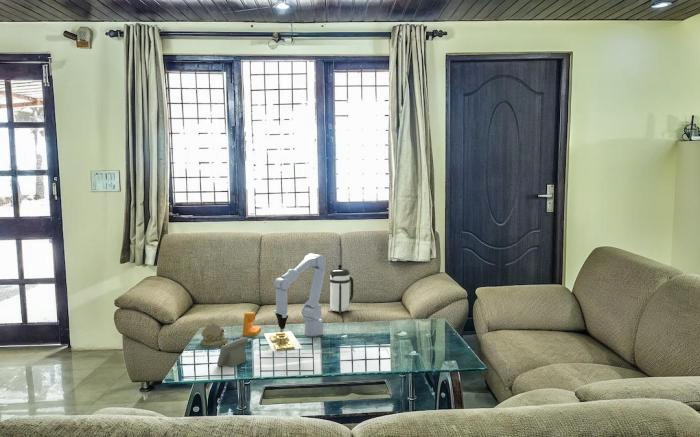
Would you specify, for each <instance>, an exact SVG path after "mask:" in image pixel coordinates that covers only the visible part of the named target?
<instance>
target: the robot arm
mask: <svg viewBox="0 0 700 437" xmlns="http://www.w3.org/2000/svg"><path fill="white" fill-rule="evenodd" d="M303 258H304V259H302V261H301V262H300V263H299V264H298V265H297V266H295V268H291V269H290V268H289V269H287V272H286V273H284V274H282V275H281V276H280V277H277V278H276V279H275V280H274V283H273V288H274V291H275V309H274V310H273V313H274V315H275V316H276V319H277V323H278V327H279V330H280V329H284V330H285V327H286V323H287V320H288V318H289V315H288V311H289V310H288V290H289V289H290V286H291V285H292V284H293V282H295V281H296V280H297V279H298V278H299V275H300V274H301V273H302V272H304V271H305V270H306V269H307V268H309V267H310V268H312V270H313V271H314V273H313V276H312V277H313V278H312V282H311V287H310V292H309V296H308V300H307V301H306V302H305V303H304V305H303V307H302V310H301V315H302V317H303V320H304V335H305V336H307V337H316V336H323V335H324V334H323V333H324V331H323V330H324V325H323V324H324V323H323V319H322V318H321V317H322V305H321V304H320V302H319V301H320V297H321V293H322V287H323V284H324V283H323V282H324V278H325V273H326V265H327V259H326V257H325V256H324V255H322V254H317V253H313V252H309V253H307V255H305V256H304V257H303Z"/></svg>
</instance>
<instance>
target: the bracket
mask: <svg viewBox="0 0 700 437" xmlns="http://www.w3.org/2000/svg"><path fill="white" fill-rule="evenodd" d="M255 321H256V311H245V312H244V315H243V326H242V336H249V337H250V336H252V337H255V336H257V335H259V333H260V332H261V331H262V326H260V325H253V323H255Z"/></svg>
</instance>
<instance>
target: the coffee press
mask: <svg viewBox="0 0 700 437" xmlns="http://www.w3.org/2000/svg"><path fill="white" fill-rule="evenodd" d="M350 275H351V272H350V270H349V269H348V268H346V267H343V266H342V265H341V264H338V266H337V267H335V268H332V269H331V270H330V271H329V277H330V278H329V306H328V309H327V312H328V313H330V312H331V311H334V312H338V315H339V316H342V312H346V311H348V312H349V313H351V312H352V310H350V308H351V306H350V305H351V304H350V301H352V300H353V298H354V279H353V277H351V276H350Z"/></svg>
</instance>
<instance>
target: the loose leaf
mask: <svg viewBox="0 0 700 437" xmlns="http://www.w3.org/2000/svg"><path fill="white" fill-rule="evenodd" d="M284 332H285V331H284ZM284 332H280V331H279V332H278V331H277V332H275V333H276V335H270V339H271V341H272V342H276V336H278V335H286V336H287V334H285V333H284ZM288 340H289V337H288Z"/></svg>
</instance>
